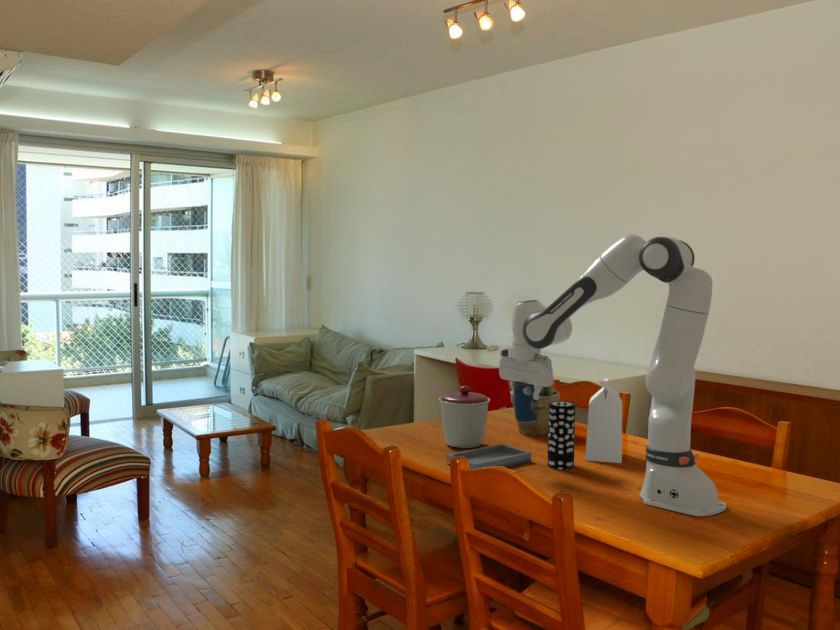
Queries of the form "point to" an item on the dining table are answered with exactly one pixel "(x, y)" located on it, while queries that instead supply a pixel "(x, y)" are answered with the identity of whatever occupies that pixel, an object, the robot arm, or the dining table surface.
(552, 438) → the white-spotted black cylinder
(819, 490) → the dining table surface
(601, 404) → the milk
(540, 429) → the potted plant
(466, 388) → the canister
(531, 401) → the soda can
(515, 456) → the tray
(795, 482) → the dining table surface
